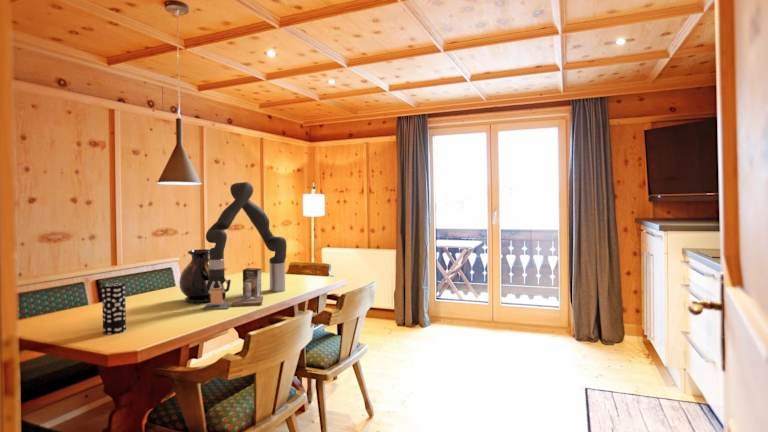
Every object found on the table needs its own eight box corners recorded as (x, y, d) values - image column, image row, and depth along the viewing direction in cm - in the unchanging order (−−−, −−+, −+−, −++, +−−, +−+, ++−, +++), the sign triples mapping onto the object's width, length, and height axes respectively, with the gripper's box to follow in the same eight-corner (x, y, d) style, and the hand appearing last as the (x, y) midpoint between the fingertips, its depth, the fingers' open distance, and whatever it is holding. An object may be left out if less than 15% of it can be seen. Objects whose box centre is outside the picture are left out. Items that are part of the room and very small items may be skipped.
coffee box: (242, 297, 251) (241, 269, 251) (246, 295, 258) (246, 267, 257) (257, 297, 251) (257, 269, 250) (261, 295, 257) (261, 268, 256)
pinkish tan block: (212, 301, 231) (212, 288, 231) (223, 301, 233) (223, 288, 232) (210, 304, 226) (210, 290, 226) (222, 303, 227) (221, 290, 227)
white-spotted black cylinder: (109, 328, 190) (108, 283, 189) (129, 328, 191) (128, 282, 190) (98, 334, 182) (97, 286, 181) (119, 334, 183) (118, 286, 182)
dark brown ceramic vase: (221, 303, 237) (220, 251, 236) (177, 306, 230) (176, 253, 229) (221, 295, 257) (221, 247, 256) (181, 298, 250) (180, 249, 249)
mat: (207, 304, 234) (207, 303, 234) (230, 303, 236) (230, 302, 236) (202, 310, 222) (202, 309, 222) (227, 309, 225) (227, 307, 225)
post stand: (235, 300, 244) (234, 281, 244) (263, 299, 247) (262, 280, 247) (231, 306, 229) (231, 286, 229) (261, 305, 233) (261, 285, 232)
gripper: (232, 266, 234) (232, 297, 234) (203, 267, 231) (203, 299, 231) (230, 268, 226) (230, 300, 227) (200, 269, 223) (201, 302, 224)
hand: (217, 299), depth 229 cm, fingers closed on pinkish tan block, 5 cm apart
